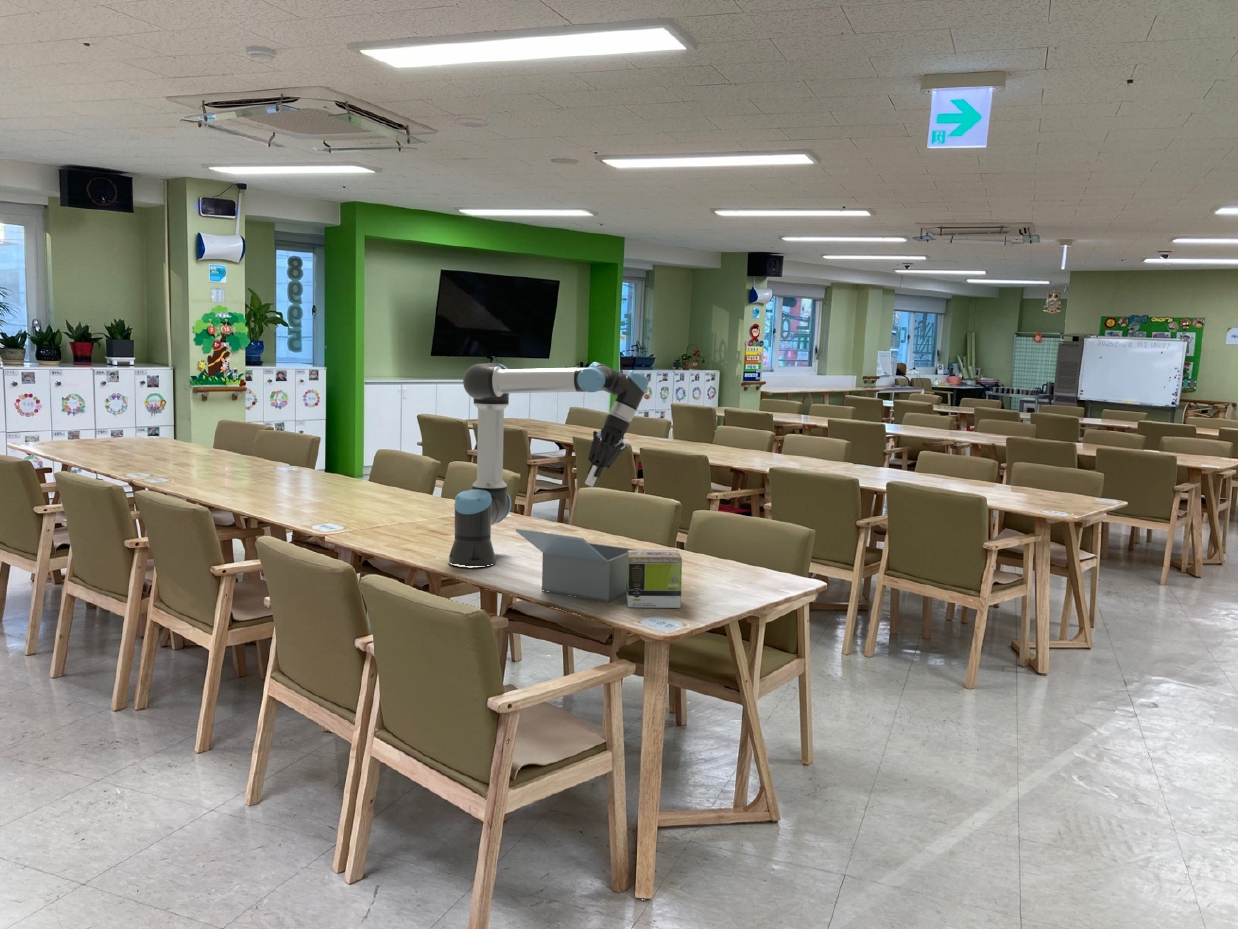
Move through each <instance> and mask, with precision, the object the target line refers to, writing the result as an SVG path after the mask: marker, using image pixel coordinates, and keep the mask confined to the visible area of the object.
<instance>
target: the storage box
mask: <svg viewBox="0 0 1238 929" xmlns="http://www.w3.org/2000/svg"><path fill="white" fill-rule="evenodd" d="M588 543H589V544H590V545H591V546H592V547H593V548H594V549H596V550H597V551H598V552H599V553H600V554H601V555H602V556H603V557H604V558H606V559H607V560H608V563H605V562H599V561H592V560H585V559H579V558H572V557H565V556H559V555H552V554H545V553H543V552H542V565H541V566H542V567H541V568H542V569H541V570H542V572H541V574H542V575H541V591H542V590H544V591H549V592H553V593H552V594H555V593H557V595H561V594H562V595H561V596H567V595H571V596H570V597H572V596H576V597H575V598H578V597H581V598H580V599H584V598H585V600H590V599H591V600H590V601H595V602H596V601H598V602H602V601H603V603H611V602H612V601H615V600H617V599H619V598H621V597H623V596H625V595H626V583H627V550H638V549H635V548H629V547H621V546H614V545H608V544H600V543H593V542H588ZM549 592H548V593H549ZM622 595H623V596H622Z"/></svg>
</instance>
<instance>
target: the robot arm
mask: <svg viewBox="0 0 1238 929" xmlns="http://www.w3.org/2000/svg"><path fill="white" fill-rule="evenodd" d="M462 383H463V388H464V390H465V392H466V394H467V395H469V396H470V397H471V398H473V404H474V406H475V407H476V408H477V452H476V454H477V459H476V460H477V461H476V462H477V464H476V467H477V468H476V469H477V471H476V472H477V473H476V480H475V481H474V482H473V483H472V484H471V485H472V488H471V489H468V490H463V491H461V492H459V493H457V495H456V496H455V498H454V505H453V506H454V541H453V543H452V546H451V549H450V552H449V555H448V563H449V562H450V563H452V564H459V565H465V566H487V565H491V564H495V563H496V561H497V557H496V553H495V551H494V550H495V549H494V547H493V544H492V539H491V538H492V537H491V536H492V535H491V534H492V533H491V532H492V525H495V524H498V523H500V522H502V521H503V520H505V518H506V517H507V516H508V515H509V514H510V512H511V509H512V499H511V497H510V494H509V493H508V484H507V483H506V482H505V481H504V478H503V476H504V474H503V473H504V431H505V430H504V428H505V426H504V423H505V422H504V421H505V419H504V418H505V417H504V416H505V408H506V407H507V406H509V403H510V402H509V400H510V398H509V396H510V394H525V393H526V394H535V393H536V394H537V393H539V394H541V393H543V394H545V393H596V392H597V393H598V392H601V391H602V392H606V393H608V394H610V395H613V396H615V397H616V398H615V400H614V402H613V403H612V404H613V405H612V406H611V408H610V410H609V412H610V413H609V414H608V415H607V416H606V419H605V421H604V426H603V427H602V428H601V429H600V430H598V431H596V430H594V431H593V432H592V434H593V435H592V436H593V439H592V441H591V446H590V449H589V450H590V451H589V454H588V459H587V460H588V461H589V462H590V463H591V465H590V467H589V470H588V471H587V473H588V474H587V475H588V476H587V478H586V479H585V481H584V484H585V485H587V486H589V487H592V488H593V487H594V485H595V482H596V481H597V479H599V478H600V476H601V474H602V472H603V470H604V469H605V470H609V469H610V468H611V467H612V465H613V464H614V462H615V461H616V460H617V459H618V457H619V456H620V455H621V453H622V451H624V450H625V449H627V447H628V445H627V444H625V442H624V437H625V434H626V433H627V432H628V429H629V428H630V423H631V422H633V421H632V420H633V418H634V416H635V414H636V412H637V410H638V408H639V406H640V404H641V401H642V399H643V398H644V395H645V393H646V390H647V388H648V385H649V383H650V380H649V378H648V377H647V376H645V375H644V374H641V373H639V372H638V371H635V370H628V372H627V373H626V374H625V373H622V372H620V371H618V370H616V369H614V368H611V367H609V366H607V365H605V364H603V363H600V362H597V361H594V362H592V363H591V364H589V366H587V367H554V368H552V367H551V368H546V367H545V368H513V369H512V368H511V369H510V368H508V367H506V366H505V365H503V364H501V363H497V362H489V363H477V364H474V365H472V366H470V367H469V368H467V370H466V371H465V373H464V374H463V377H462ZM495 565H496V564H495Z"/></svg>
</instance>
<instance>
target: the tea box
mask: <svg viewBox="0 0 1238 929" xmlns="http://www.w3.org/2000/svg"><path fill="white" fill-rule="evenodd" d="M679 551H680V550H678V549H676V550H675V549H673V550H666V549H663V550H662V549H659V550H658V549H637V550H627V583H626V594H625V595H626V600H627V607H628V608H637V609H638V608H641V609H644V608H650V609H651V608H654V609H655V608H656V609H657V608H660V609H664V608H665V609H680V608H682V607H681V606H682V580H683V579H682V578H683V577H682V575H683V574H682V573H683V572H682V569H683V567H682V566H683V564H682V563H683V558H682V556H681V553H680V552H679Z"/></svg>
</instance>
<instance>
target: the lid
mask: <svg viewBox="0 0 1238 929" xmlns="http://www.w3.org/2000/svg"><path fill="white" fill-rule="evenodd" d="M515 532H516V533H517V534H519V535H520V536H521V537H523V539H525V540H527V541H528V542H529V543H530V544H531V545H532V546H534V547H535V548H536V549H537V550H539V551H540V552H542V554H543V553H545V554H552V555H559V556H565V557H572V558H579V559H585V560H592V561H599V562H605V563H608V560H607V559H606V558H604V557H603V556H602V555H601V554H600V553H599V552H598V551H597V550H596V549H594V548H593V547H592V546H591V545H590V544H589V543H590V542H588V541H587V540H586V539H584V537H578V536H571V535H570V536H569V535H563V534H556V533H548V532H543V531H542V532H541V531H535V530H527V529H520V528H516V529H515Z"/></svg>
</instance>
